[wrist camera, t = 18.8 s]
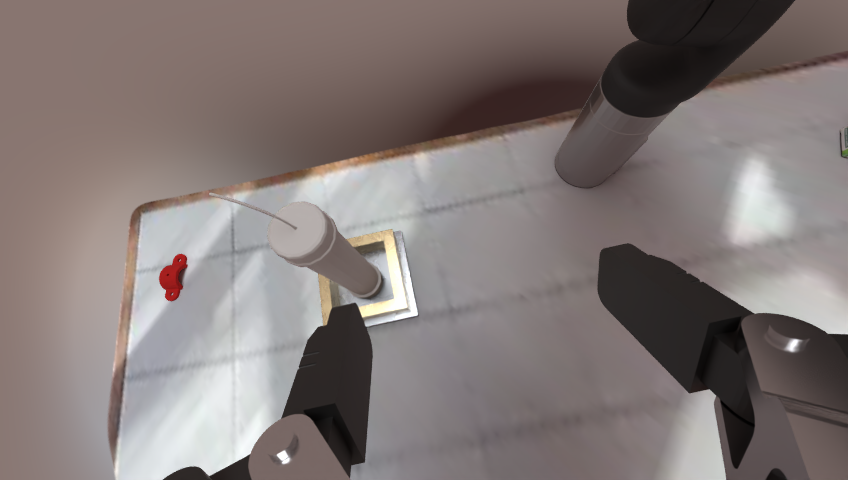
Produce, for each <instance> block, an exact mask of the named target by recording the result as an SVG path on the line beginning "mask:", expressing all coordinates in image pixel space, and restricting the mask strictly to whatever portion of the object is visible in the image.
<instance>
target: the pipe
mask: <svg viewBox="0 0 848 480" xmlns="http://www.w3.org/2000/svg"><path fill="white" fill-rule="evenodd" d="M209 195H210V196H214V197H218V198H221V199H225V200H228V201H231V202H235V203H238V204H241V205H244V206H247V207H249V208H252V209H255V210H257V211H260V212H262V213H265V214H267V215H269V216H272V217H273V218H272V220H271V222H270V224H269V226H268V234H267V237H268V241H269V244H270V247H271V249H272V250H273V251H274V252H275V253H276V254H277V255H278V256H280V257H282V258H284V259H285V260H286V261H287V262H288V263H290V264H293V265H296V266H299V267H307V268H309V269H311V270H313V271H315V272H317V273H319V274H320V275H322V276H324V277H326V278H328V279H330V280H331V281H333V282H335V283H337V284H339V285H341V286H342V287H344V288H346V289H347V290H348V291H349V292H350V293H351V294H352V295H353V296H356V297H358V298H363V299H367V298H372V297H374V296H376V295H377V294H378V293H379V291H380V290H381V288H382V285H383V277H382V275H381V272H380V271H379V269H378V268H377V267H376V266H375V265H374V264H372V263H369V262H368V261H367V260H366V259H365V258H364V257H363V256H362V255H361V254H360V253H359V252H358V251H357V250H356V249H355V248H354V247H353V246H352V245H351V244H350V243H349V242H348V241H347V240H346V239H345V238H344V237H343V236H342V235H341V234H340V233H339V232H338V230H337V227H336V225H335V223H334V220H333V219H332V218H331V217H329V216H328V215H327V214H326V213H325V212H324V211H322V210H321V209H320V208H318V207H317V206H316V205H314V204H311V203H307V202H295V203H291V204H289V205H287V206H284V207H282V208H281V209H280V210H279V211H278V212H277V213H276V214H275V215H273V214H271V213H269V212H267V211H264V210H262V209H260V208H257V207H255V206H252V205H249V204H246V203H243V202H240V201H237V200H234V199H231V198H228V197H225V196H221V195H217V194H214V193H209Z"/></svg>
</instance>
